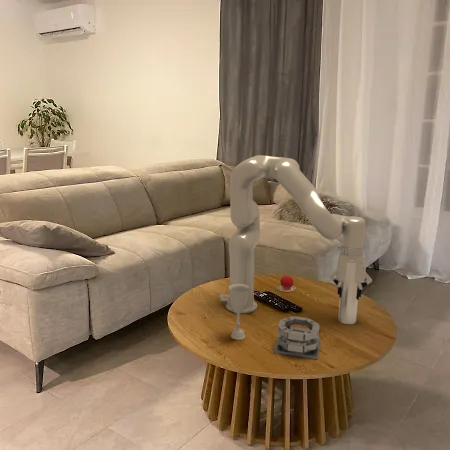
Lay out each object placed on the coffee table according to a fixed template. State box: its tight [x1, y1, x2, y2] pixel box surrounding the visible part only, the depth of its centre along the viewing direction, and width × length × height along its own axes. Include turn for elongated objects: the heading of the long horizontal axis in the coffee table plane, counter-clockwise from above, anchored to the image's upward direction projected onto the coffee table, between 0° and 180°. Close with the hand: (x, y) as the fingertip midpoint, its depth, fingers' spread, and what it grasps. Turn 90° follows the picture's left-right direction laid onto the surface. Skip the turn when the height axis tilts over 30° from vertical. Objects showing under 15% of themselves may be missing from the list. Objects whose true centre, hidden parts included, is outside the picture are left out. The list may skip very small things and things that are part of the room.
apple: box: [276, 274, 296, 293], centre depth 206 cm, size 8×8×6 cm
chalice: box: [228, 284, 249, 340], centre depth 162 cm, size 7×7×18 cm
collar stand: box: [273, 315, 322, 360], centre depth 155 cm, size 14×13×8 cm
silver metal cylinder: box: [337, 260, 359, 325], centre depth 174 cm, size 6×6×25 cm
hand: (349, 296), depth 174 cm, fingers closed on silver metal cylinder, 5 cm apart
